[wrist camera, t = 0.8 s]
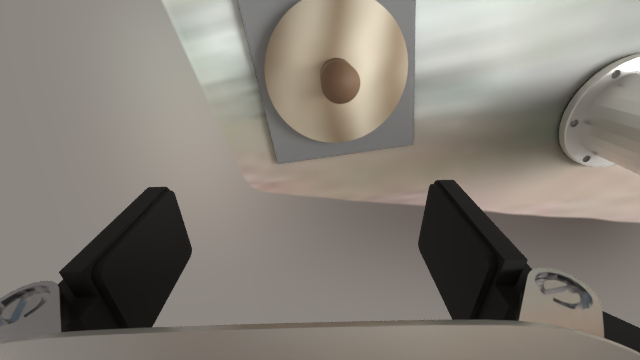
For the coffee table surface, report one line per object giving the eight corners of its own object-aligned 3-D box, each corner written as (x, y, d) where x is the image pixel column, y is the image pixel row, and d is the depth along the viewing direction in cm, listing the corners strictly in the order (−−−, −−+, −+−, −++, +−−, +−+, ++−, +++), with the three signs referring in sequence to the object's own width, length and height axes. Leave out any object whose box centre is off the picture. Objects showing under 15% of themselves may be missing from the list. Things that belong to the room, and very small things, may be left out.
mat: (414, -51, 24) (416, -53, 23) (411, 142, 32) (413, 144, 32) (234, -19, 25) (232, -20, 24) (278, 162, 33) (277, 164, 33)
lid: (404, -22, 24) (430, -37, 19) (404, 129, 31) (423, 150, 26) (250, 5, 25) (232, -2, 20) (282, 147, 32) (276, 171, 26)
